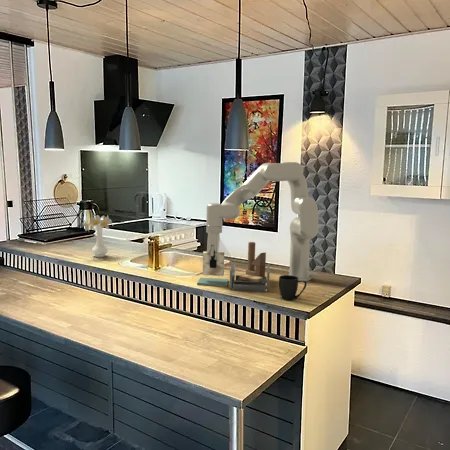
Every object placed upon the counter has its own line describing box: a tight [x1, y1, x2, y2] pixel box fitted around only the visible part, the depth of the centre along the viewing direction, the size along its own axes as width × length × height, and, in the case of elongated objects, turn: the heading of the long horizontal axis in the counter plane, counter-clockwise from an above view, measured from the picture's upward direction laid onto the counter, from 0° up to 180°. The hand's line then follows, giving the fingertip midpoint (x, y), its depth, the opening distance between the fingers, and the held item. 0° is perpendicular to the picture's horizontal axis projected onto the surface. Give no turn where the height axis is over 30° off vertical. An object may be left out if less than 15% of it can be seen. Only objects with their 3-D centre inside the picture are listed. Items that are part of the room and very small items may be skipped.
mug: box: [278, 274, 308, 302], centre depth 192 cm, size 8×12×10 cm
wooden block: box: [245, 241, 267, 277], centre depth 226 cm, size 4×11×18 cm, turn 39°
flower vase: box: [81, 214, 114, 258], centre depth 267 cm, size 13×18×25 cm
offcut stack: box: [237, 273, 263, 282], centre depth 216 cm, size 12×5×4 cm, turn 58°
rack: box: [229, 261, 271, 293], centre depth 212 cm, size 18×18×9 cm
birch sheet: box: [202, 251, 225, 277], centre depth 215 cm, size 10×2×11 cm, turn 84°
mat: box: [196, 277, 229, 287], centre depth 216 cm, size 14×10×1 cm
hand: (213, 266), depth 215 cm, fingers closed on birch sheet, 2 cm apart
